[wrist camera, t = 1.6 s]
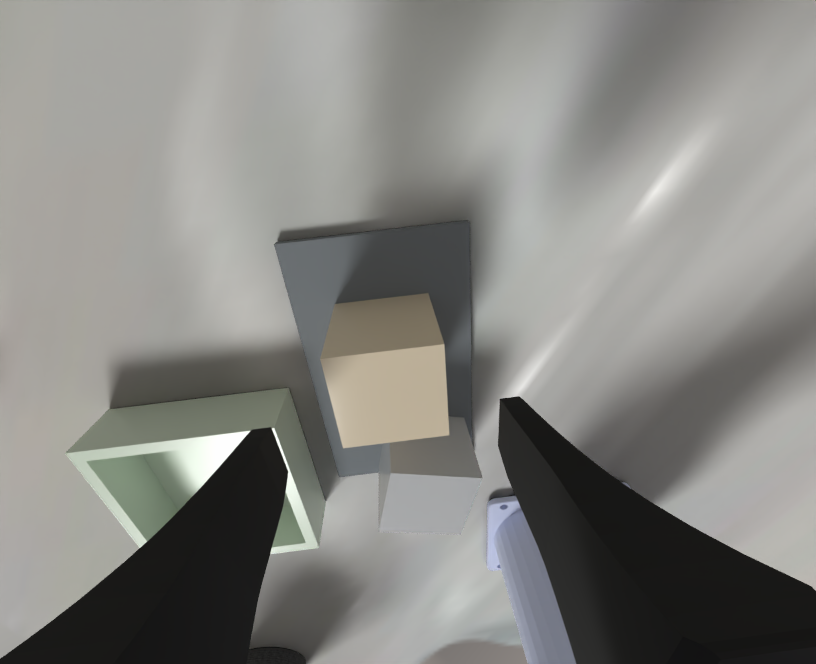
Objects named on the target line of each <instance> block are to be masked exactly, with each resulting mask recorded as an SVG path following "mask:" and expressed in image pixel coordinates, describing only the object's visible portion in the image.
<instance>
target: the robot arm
mask: <svg viewBox="0 0 816 664" xmlns="http://www.w3.org/2000/svg"><path fill="white" fill-rule="evenodd" d="M498 447H499V450H500V453H501V457H502V460H503V464H504V467H505V470H506V473H507V476H508V479H509V481H510V484H511V486H512V488H513V491H514V493H515V495H516V496H509V497H501V498H494V499H491V500H490V501H489V502H488V504H487V551H486V564H487V568H488V569H489V570H492V571H493V570H502V574H503V577H504V581H505V585H506V588H507V592H508V595H509V599H510V602H511V606H512V609H513V613H514V616H515V620H516V623H517V627H518V631H519V634H520V638H521V641H522V645H523V648H524V651H525V655H526V658H527V662H528V664H816V591H815V590H814V589H813V588H812V587H811V586H809V585H807V584H805V583H803V582H801V581H799V580H797V579H795V578H793V577H791V576H788V575H786V574H784V573H782V572H780V571H778V570H776V569H774V568H772V567H769V566H767V565H765V564H763V563H761V562H759V561H757V560H755V559H753V558H751V557H748V556H746V555H744V554H742V553H740V552H739V551H737V550H735V549H733V548H731V547H729V546H727V545H725V544H723V543H721V542H720V541H718V540H716V539H714V538H712V537H710V536H708V535H706V534H704V533H703V532H701V531H699V530H697V529H696V528H694V527H692V526H690V525H688V524H687V523H685V522H683V521H682V520H680V519H678V518H677V517H675V516H673V515H672V514H670V513H668V512H667V511H665V510H663V509H661V508H660V507H658V506H656V505H655V504H653V503H652V502H650V501H648V500H647V499H645V498H644V497H642V496H641V495H639V494H638V493H636V492H635V491H633V490H632V489H631V488H630V486H629V485H628V484H627V483H625V482H620V481H619V480H617V479H616V478H614V477H613V476H611V475H610V474H609V473H607V472H606V471H605V470H603V469H602V468H601V467H599V466H598V465H597V464H596V463H594V462H593V461H592V460H591V459H589V458H588V457H587V456H585V455H584V454H583V453H582V452H581V451H579V450H578V449H577V448H576V447H575V446H573V445H572V444H571V443H570V442H569V441H568V440H566V439H565V438H564V437H563V436H562V435H561V434H559V433H558V432H557V431H556V430H555V429H554V428H553V427H552V426H550V425H549V424H548V423H547V422H546V421H545V420H544V419H543V418H542V417H541V416H540V415H539V414H538V413H536V412H535V411H534V410H533V409H532V408H531V407H530V406H529V405H528V404H527V403H526V402H525V401H524V400H523V399H522V398H520V397H511V398H503V399H500V412H499V438H498ZM287 478H288V470H287V467H286V464H285V462H284V459H283V456H282V454H281V451H280V449H279V446H278V443H277V441H276V438H275V435H274V433H273V430H272V428H271V427H268V428H260V429H252V430H251V431H250V432H249V433H248V434H247V435H246V437H245V438H244V439H243V440H242V441H241V442H240V443H239V445H238V446H237V447H236V448H235V449H234V450H233V452H232V453H231V454H230V455H229V456H228V457H227V458H226V460H225V461H224V462H223V463H222V464H221V465H220V467H219V468H218V469H217V470H216V471H215V472H214V473H213V474H212V476H211V477H210V478H209V479H208V480H207V481H206V482H205V483H204V485H203V486H202V487H201V488H200V489H199V490H198V491H197V492H196V493H195V494H194V495H193V496H192V497H191V498H190V499H189V500H188V501H187V502H186V503H185V505H184V506H183V507H182V508H181V509H180V510H179V511H178V512H177V513H176V514H175V515H174V516H173V517H172V518H171V519H170V520H169V521H168V522H167V523H166V524H165V525H164V526H163V527H162V528H161V529H160V530H159V531H158V532H157V533H156V534H155V535H154V536H153V537H152V538H150V539H149V540H148V541H147V542H146V543H145V544H144V545H143V546H142V547H141V548H140V549H138V550H137V551H136V552H135V553H134V554H133V555H132V556H131V557H130V558H128V559H127V560H126V561H125V562H124V563H123V564H122V565H120V566H119V567H118V568H117V569H116V570H114V571H113V572H112V573H111V574H110V575H108V576H107V577H106V578H105V579H104V580H102V581H101V582H100V583H99V584H98V585H96V586H95V587H94V588H93V589H92V590H90V591H89V592H88V593H87V594H86V595H84V596H83V597H82V598H81V599H79V600H78V601H77V602H76V603H74V604H73V605H72V606H71V607H69V608H68V609H67V610H65V611H64V612H63V613H62V614H60V615H59V616H58V617H56V618H55V619H54V620H53V621H51V622H50V623H49V624H47V625H46V626H44V627H43V628H42V629H40V630H39V631H38V632H36V633H35V634H34V635H32V636H31V637H30V638H28V639H27V640H26V641H24V642H23V643H22V644H20V645H19V646H17V647H16V648H15V649H13V650H12V651H11V652H9V653H8V654H7V655H5V656H4V657H2V658H1V659H0V664H247V658H248V651H249V645H250V640H251V634H252V629H253V623H254V618H255V612H256V607H257V602H258V597H259V593H260V589H261V585H262V581H263V577H264V574H265V570H266V567H267V563H268V560H269V556H270V552H271V549H272V545H273V542H274V538H275V534H276V531H277V527H278V524H279V520H280V516H281V512H282V509H283V505H284V499H285V493H286V486H287Z"/></svg>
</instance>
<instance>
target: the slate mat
mask: <svg viewBox="0 0 816 664" xmlns="http://www.w3.org/2000/svg"><path fill="white" fill-rule="evenodd" d="M274 246H275V249H276V253H277V256H278V260H279V264H280V267H281V271H282V274H283V278H284V282H285V285H286V289H287V292H288V296H289V299H290V303H291V307H292V310H293V314H294V317H295V321H296V324H297V328H298V332H299V335H300V339H301V342H302V346H303V350H304V353H305V357H306V360H307V364H308V367H309V371H310V375H311V378H312V382H313V385H314V389H315V392H316V396H317V400H318V403H319V407H320V410H321V414H322V418H323V421H324V425H325V428H326V432H327V435H328V439H329V443H330V446H331V450H332V453H333V457H334V460H335V464H336V468H337V471H338V475H339V477H345V476H353V475H361V474H369V473H378V472H379V461H380V456H381V450H382V445H383V444H374V445H366V446H358V447H350V448H343V446H342V442H341V438H340V434H339V430H338V426H337V423H336V419H335V415H334V411H333V407H332V403H331V399H330V395H329V391H328V388H327V384H326V380H325V376H324V372H323V368H322V364H321V360H320V358H321V354H322V350H323V346H324V343H325V339H326V335H327V331H328V328H329V324H330V320H331V316H332V313H333V309H334V305H335V304H339V303H348V302H356V301H365V300H373V299H382V298H390V297H399V296H407V295H416V294H425V293H428V294H429V297H430V300H431V303H432V306H433V310H434V313H435V316H436V319H437V322H438V325H439V329H440V332H441V335H442V338H443V341H444V346H445V364H446V383H447V401H448V416H451V417H463V418H464V419H465V422H466V425H467V428H468V432H469V435H470V438H471V442H472V383H471V297H470V222H469V221H468V220H465V221H456V222H447V223H439V224H430V225H421V226H412V227H403V228H395V229H386V230H377V231H368V232H359V233H351V234H342V235H333V236H324V237H315V238H307V239H298V240H289V241H280V242H276V243H275V244H274Z"/></svg>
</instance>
